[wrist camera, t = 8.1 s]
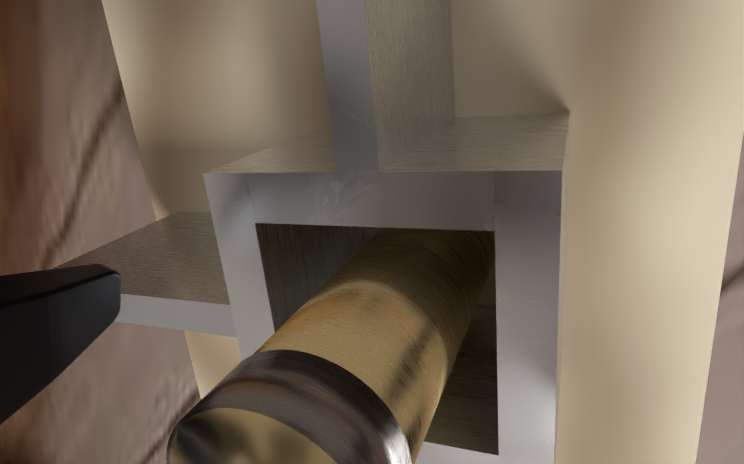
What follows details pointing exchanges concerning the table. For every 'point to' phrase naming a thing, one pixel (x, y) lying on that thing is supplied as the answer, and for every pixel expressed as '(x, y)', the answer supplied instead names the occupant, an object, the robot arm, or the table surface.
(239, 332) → the beige panel with ridges
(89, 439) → the table surface
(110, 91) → the table surface
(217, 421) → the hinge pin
